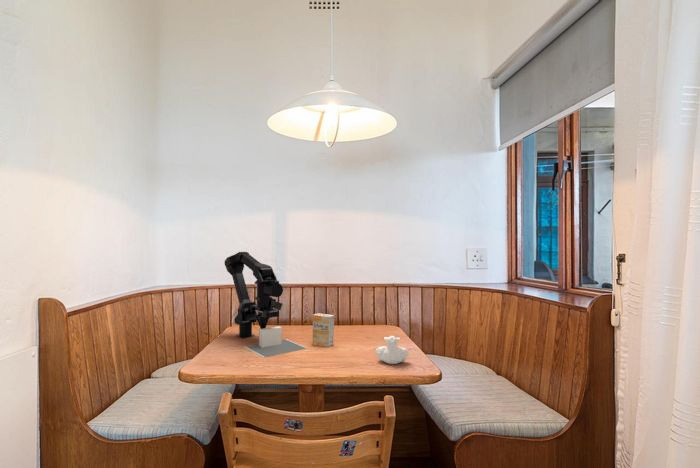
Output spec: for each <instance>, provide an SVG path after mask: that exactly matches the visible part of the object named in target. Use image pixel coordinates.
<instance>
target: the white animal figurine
mask: <svg viewBox="0 0 700 468" xmlns="http://www.w3.org/2000/svg"><path fill="white" fill-rule="evenodd" d="M383 339H384V341H385V342H386V343H385V345H386V346H385V345H383V346H378V347H377V348H376V349H375V352H376V356H377V358H378V360H380V361H382V362H384V363H386V364H390V365H397V364H399V363H401V362H405V361H406V360H407V358H408V355H409V350H408V349H407V348H406V347H403V346H398V345H399V344H398V342H400V340H401V337H395V335H389V336H388V337H387V336H384V337H383Z"/></svg>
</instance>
